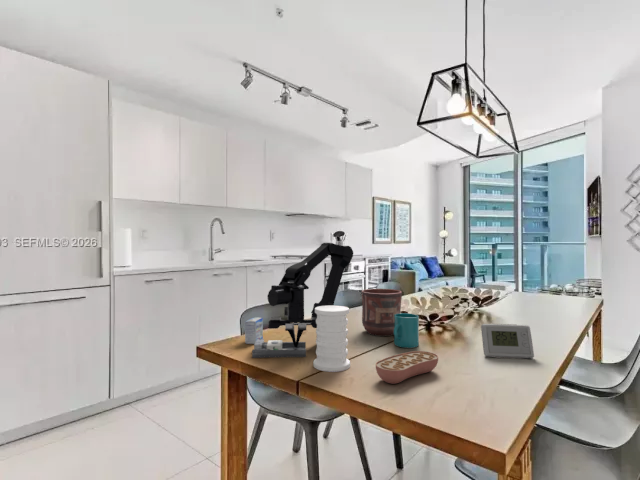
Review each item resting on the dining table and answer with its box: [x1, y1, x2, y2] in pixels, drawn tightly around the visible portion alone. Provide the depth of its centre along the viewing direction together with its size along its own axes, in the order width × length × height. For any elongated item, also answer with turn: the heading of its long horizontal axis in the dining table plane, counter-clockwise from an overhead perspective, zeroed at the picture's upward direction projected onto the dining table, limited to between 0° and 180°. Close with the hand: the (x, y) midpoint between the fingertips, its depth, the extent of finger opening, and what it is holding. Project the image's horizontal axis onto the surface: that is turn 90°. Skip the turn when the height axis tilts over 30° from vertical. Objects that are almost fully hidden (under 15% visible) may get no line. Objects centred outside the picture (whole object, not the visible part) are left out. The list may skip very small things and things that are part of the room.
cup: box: [393, 312, 420, 349], centre depth 140 cm, size 9×12×11 cm
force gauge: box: [263, 339, 283, 349], centre depth 130 cm, size 6×9×2 cm
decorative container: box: [312, 304, 351, 373], centre depth 118 cm, size 12×12×18 cm
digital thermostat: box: [480, 323, 535, 360], centre depth 128 cm, size 16×9×11 cm, turn 71°
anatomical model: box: [375, 350, 439, 385], centre depth 108 cm, size 23×10×5 cm, turn 129°
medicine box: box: [244, 316, 264, 345], centre depth 146 cm, size 8×4×9 cm, turn 168°
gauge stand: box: [251, 338, 307, 359], centre depth 131 cm, size 18×10×4 cm, turn 93°
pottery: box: [361, 288, 403, 337], centre depth 161 cm, size 18×18×18 cm
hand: (295, 347), depth 131 cm, fingers closed
